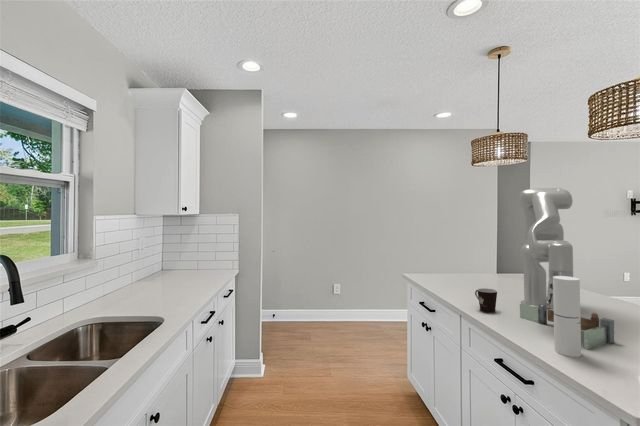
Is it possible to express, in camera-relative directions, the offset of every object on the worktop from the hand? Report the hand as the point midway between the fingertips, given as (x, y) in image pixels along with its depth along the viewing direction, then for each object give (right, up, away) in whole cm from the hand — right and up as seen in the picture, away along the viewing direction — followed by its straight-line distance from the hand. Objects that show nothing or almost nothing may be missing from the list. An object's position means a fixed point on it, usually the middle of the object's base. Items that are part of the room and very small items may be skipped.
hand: (561, 322), depth 124 cm
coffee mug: (-11, -6, +34) cm, 36 cm away
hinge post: (+1, -5, +17) cm, 18 cm away
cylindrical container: (-9, -5, -15) cm, 18 cm away
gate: (+7, -4, +4) cm, 9 cm away
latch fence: (+6, -5, -9) cm, 12 cm away
